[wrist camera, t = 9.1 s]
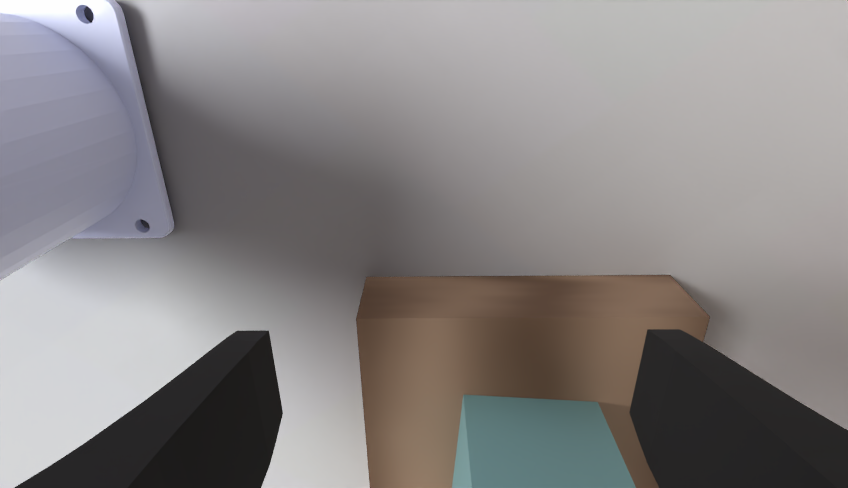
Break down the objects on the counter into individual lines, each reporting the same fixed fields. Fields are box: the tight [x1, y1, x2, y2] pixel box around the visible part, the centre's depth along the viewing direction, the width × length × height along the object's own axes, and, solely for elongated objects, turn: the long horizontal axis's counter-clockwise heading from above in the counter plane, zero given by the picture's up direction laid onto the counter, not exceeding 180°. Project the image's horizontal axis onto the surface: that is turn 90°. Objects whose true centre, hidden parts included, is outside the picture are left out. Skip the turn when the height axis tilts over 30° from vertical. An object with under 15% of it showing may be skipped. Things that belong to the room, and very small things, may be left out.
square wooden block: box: [356, 275, 710, 488], centre depth 21 cm, size 12×12×4 cm
